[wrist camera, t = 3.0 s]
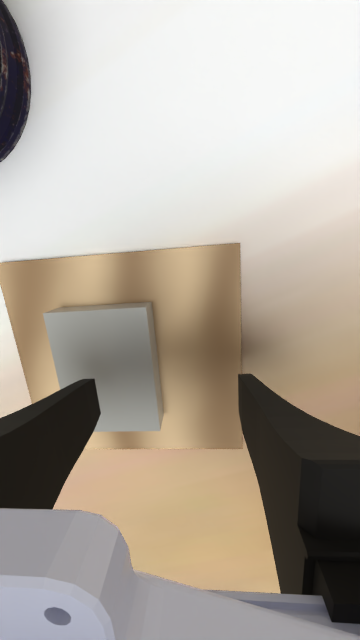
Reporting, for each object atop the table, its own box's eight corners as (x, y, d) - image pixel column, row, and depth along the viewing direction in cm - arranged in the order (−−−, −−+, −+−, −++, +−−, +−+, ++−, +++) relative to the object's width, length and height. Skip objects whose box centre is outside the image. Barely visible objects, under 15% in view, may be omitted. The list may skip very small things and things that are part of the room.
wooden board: (238, 243, 14) (240, 242, 14) (241, 442, 18) (242, 448, 17) (2, 262, 16) (-6, 263, 15) (48, 443, 19) (44, 449, 19)
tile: (145, 307, 13) (42, 313, 14) (160, 431, 15) (69, 431, 16) (152, 301, 15) (60, 306, 15) (164, 413, 17) (82, 414, 18)
